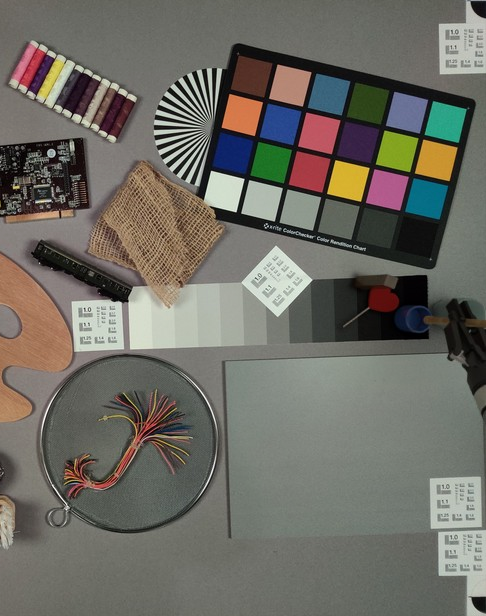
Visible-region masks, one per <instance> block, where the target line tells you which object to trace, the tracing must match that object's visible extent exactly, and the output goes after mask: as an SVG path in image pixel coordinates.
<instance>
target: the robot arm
mask: <svg viewBox="0 0 486 616" xmlns="http://www.w3.org/2000/svg"><path fill="white" fill-rule="evenodd" d="M452 298H453V299H452V300H451V301H450V302H449V303H448V304H447V305H446V309H447V311H448V318H449V321H450V322H449V323H448V325H447V326H446V327H445V328H443V333H444V338H445V342H446V346H447V351H448V354H447V356H446V359H447V361H449V362H454V361H457V362H458V363H460V364H461V367H462V368H463V369H464V370H465V372H466V383H467V385H468V387H469V390H470V393H471V396H472V397H473V399H474V402H475V404H476V406H477V409H478V411H479V414H480V416H481V418H482V420H483V422H484V424H485V425H486V328H480V327H468V326H465V324H464V323H465V321H467V320H466V319H477V318H476V316H475V315H473V313H472V311H471V309H470V307H469V305H468V303H467V301H464V300H463V301H462V302H461V303H460V304H459V303H458V301H457V299H455V298H456V297H452ZM470 329H471V331H470V332H469V330H470Z"/></svg>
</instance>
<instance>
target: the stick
mask: <svg viewBox="0 0 486 616" xmlns="http://www.w3.org/2000/svg"><path fill="white" fill-rule="evenodd" d="M466 320H467V321H465V323H464V324H465V326H468V327H480V328H484V329H486V319H485V320H479V319H466ZM449 322H450V321H449V318H445V317H433V316H425V317H424V323H425V324H431V325H437V324H442V325H448V323H449Z"/></svg>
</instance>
